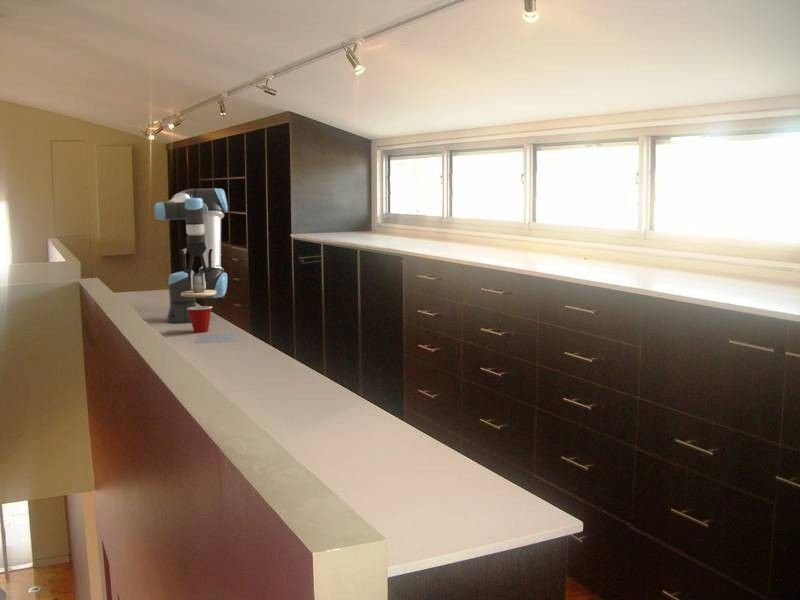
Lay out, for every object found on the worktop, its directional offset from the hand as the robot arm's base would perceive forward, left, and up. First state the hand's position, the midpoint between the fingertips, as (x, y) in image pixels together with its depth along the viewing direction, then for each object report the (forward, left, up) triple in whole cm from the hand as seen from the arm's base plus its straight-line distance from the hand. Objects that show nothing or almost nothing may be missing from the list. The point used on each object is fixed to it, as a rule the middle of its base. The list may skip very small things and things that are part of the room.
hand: (198, 288), depth 343 cm
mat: (+16, +7, -20) cm, 26 cm away
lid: (0, 0, -3) cm, 3 cm away
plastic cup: (0, 0, -20) cm, 20 cm away
